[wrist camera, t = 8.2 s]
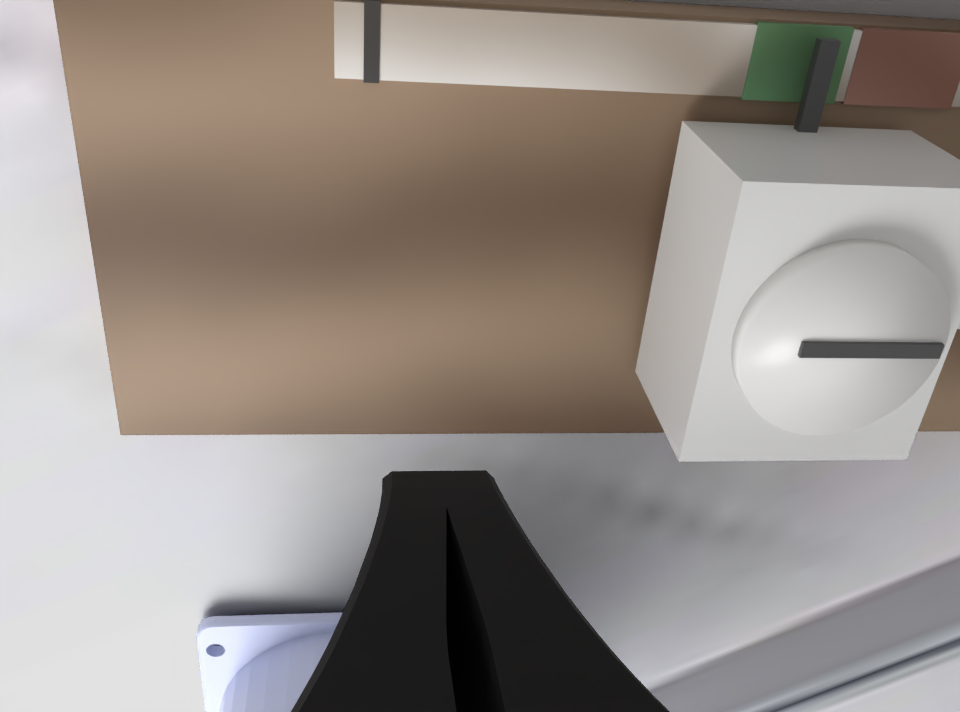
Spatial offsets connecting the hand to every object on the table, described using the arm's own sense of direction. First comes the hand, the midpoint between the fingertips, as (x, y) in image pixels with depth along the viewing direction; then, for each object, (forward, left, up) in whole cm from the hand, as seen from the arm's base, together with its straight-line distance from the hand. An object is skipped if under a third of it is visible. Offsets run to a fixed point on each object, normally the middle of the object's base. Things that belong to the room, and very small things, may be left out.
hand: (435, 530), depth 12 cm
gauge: (+1, -9, -9) cm, 13 cm away
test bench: (0, -7, -10) cm, 12 cm away
